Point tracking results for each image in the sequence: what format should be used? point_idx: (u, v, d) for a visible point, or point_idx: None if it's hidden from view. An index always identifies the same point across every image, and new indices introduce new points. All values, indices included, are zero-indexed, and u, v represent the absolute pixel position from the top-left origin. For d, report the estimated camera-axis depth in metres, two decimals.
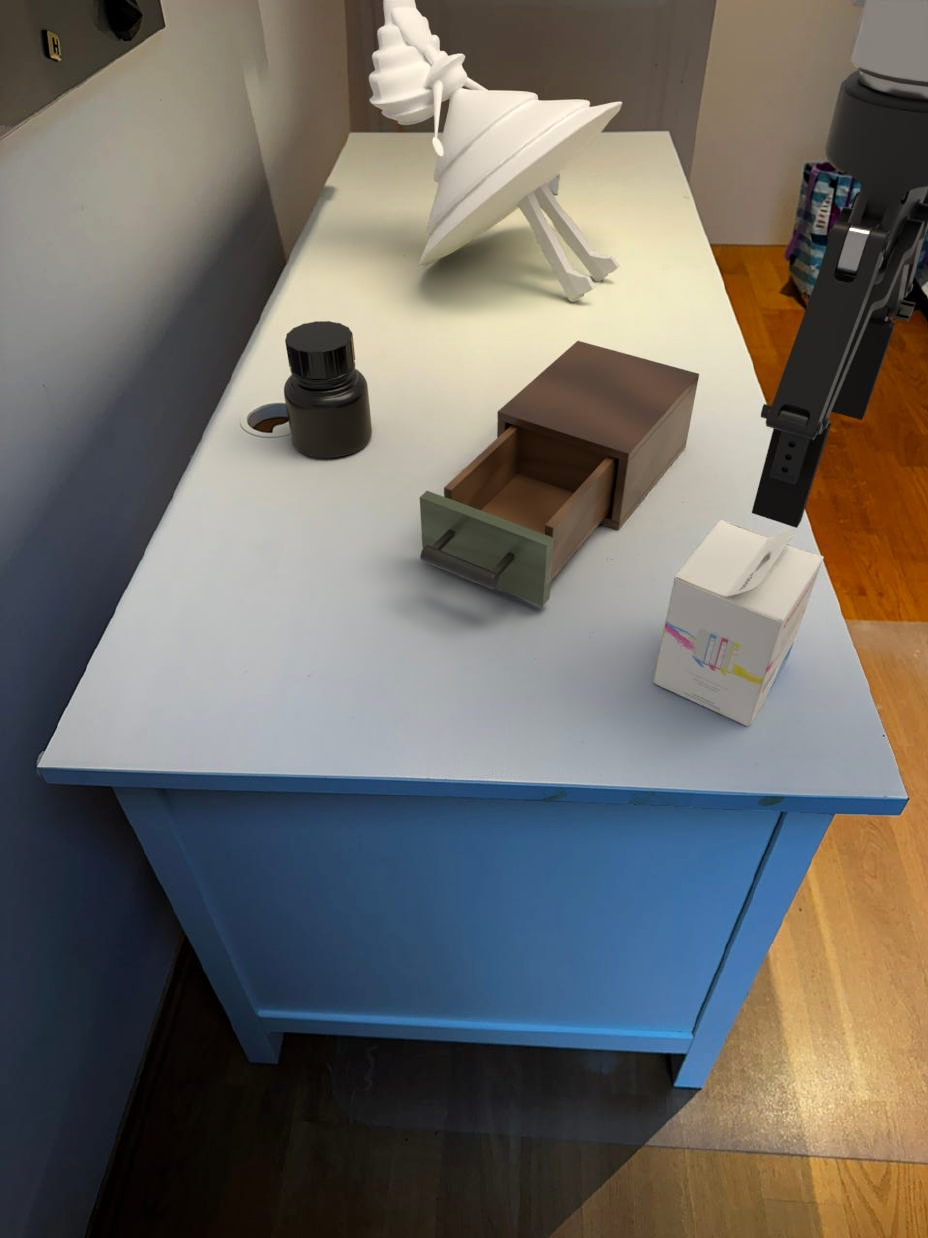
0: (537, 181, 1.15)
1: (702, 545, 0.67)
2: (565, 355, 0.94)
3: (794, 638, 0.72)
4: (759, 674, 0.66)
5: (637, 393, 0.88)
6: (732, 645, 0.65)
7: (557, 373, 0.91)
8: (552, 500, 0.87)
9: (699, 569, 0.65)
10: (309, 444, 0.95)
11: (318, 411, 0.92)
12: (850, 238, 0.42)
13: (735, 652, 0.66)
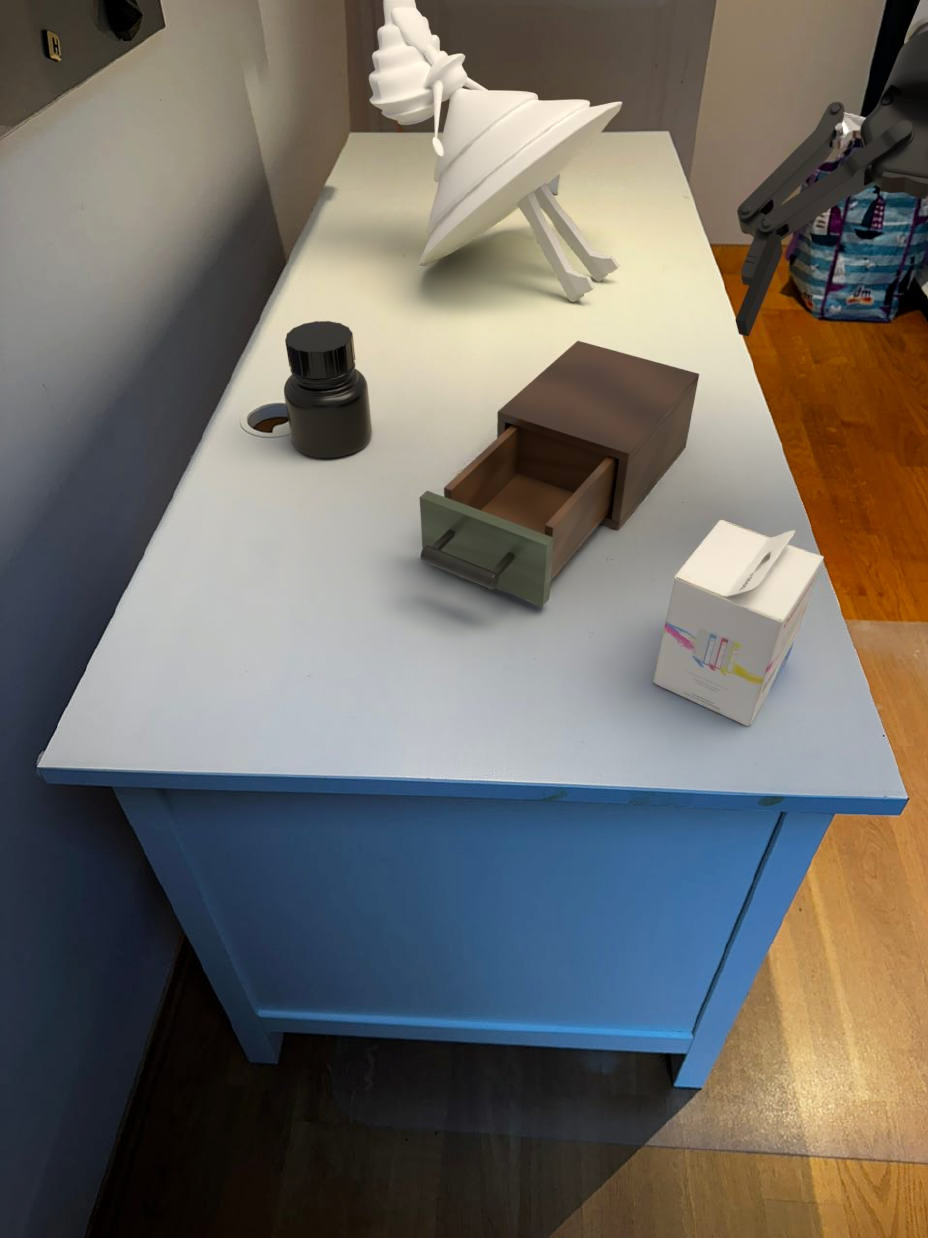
0: (537, 181, 1.15)
1: (702, 545, 0.67)
2: (565, 355, 0.94)
3: (794, 638, 0.72)
4: (759, 674, 0.66)
5: (637, 393, 0.88)
6: (732, 645, 0.65)
7: (557, 373, 0.91)
8: (552, 500, 0.87)
9: (699, 569, 0.65)
10: (309, 444, 0.95)
11: (318, 411, 0.92)
12: None
13: (735, 652, 0.66)
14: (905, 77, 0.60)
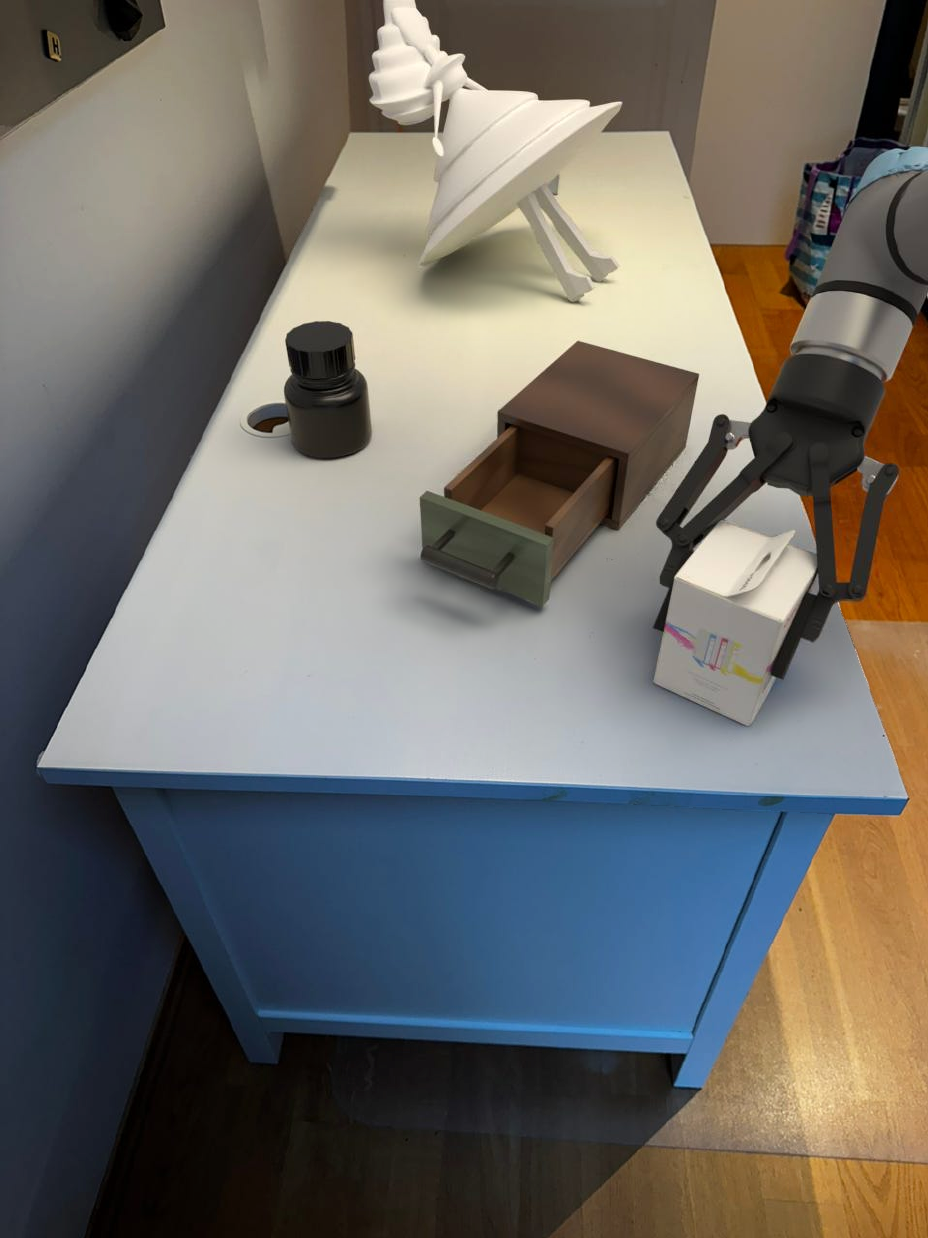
0: (537, 181, 1.15)
1: (702, 545, 0.67)
2: (565, 355, 0.94)
3: None
4: (759, 674, 0.66)
5: (637, 393, 0.88)
6: (732, 645, 0.65)
7: (557, 373, 0.91)
8: (552, 500, 0.87)
9: (699, 569, 0.65)
10: (309, 444, 0.95)
11: (318, 411, 0.92)
12: None
13: (735, 652, 0.66)
14: (785, 396, 0.65)
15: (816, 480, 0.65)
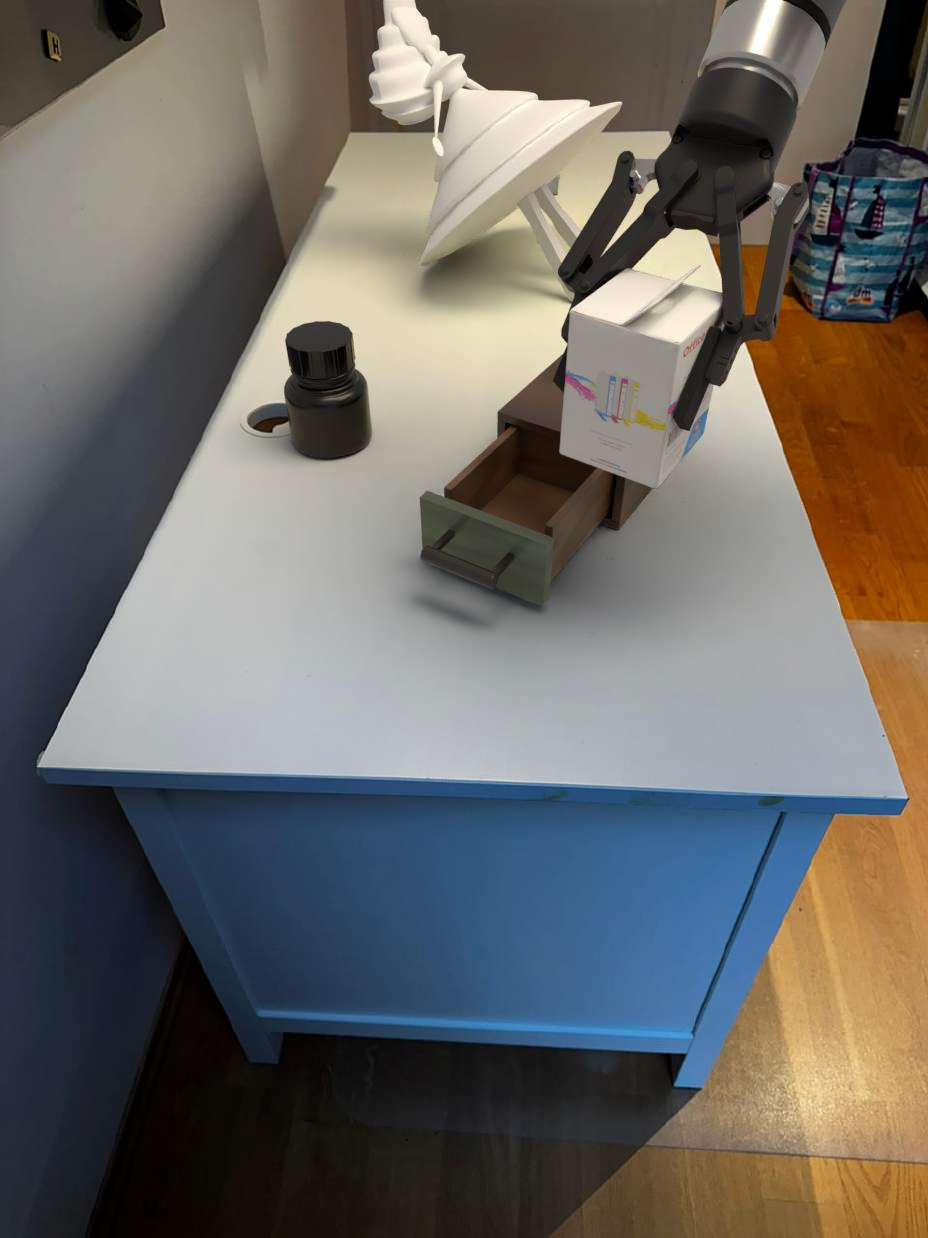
0: (537, 181, 1.15)
1: (604, 286, 0.63)
2: None
3: (707, 402, 0.67)
4: (661, 417, 0.61)
5: None
6: (632, 386, 0.61)
7: None
8: (552, 500, 0.87)
9: (597, 304, 0.61)
10: (309, 444, 0.95)
11: (318, 411, 0.92)
12: None
13: (635, 394, 0.61)
14: (688, 117, 0.61)
15: (721, 206, 0.60)
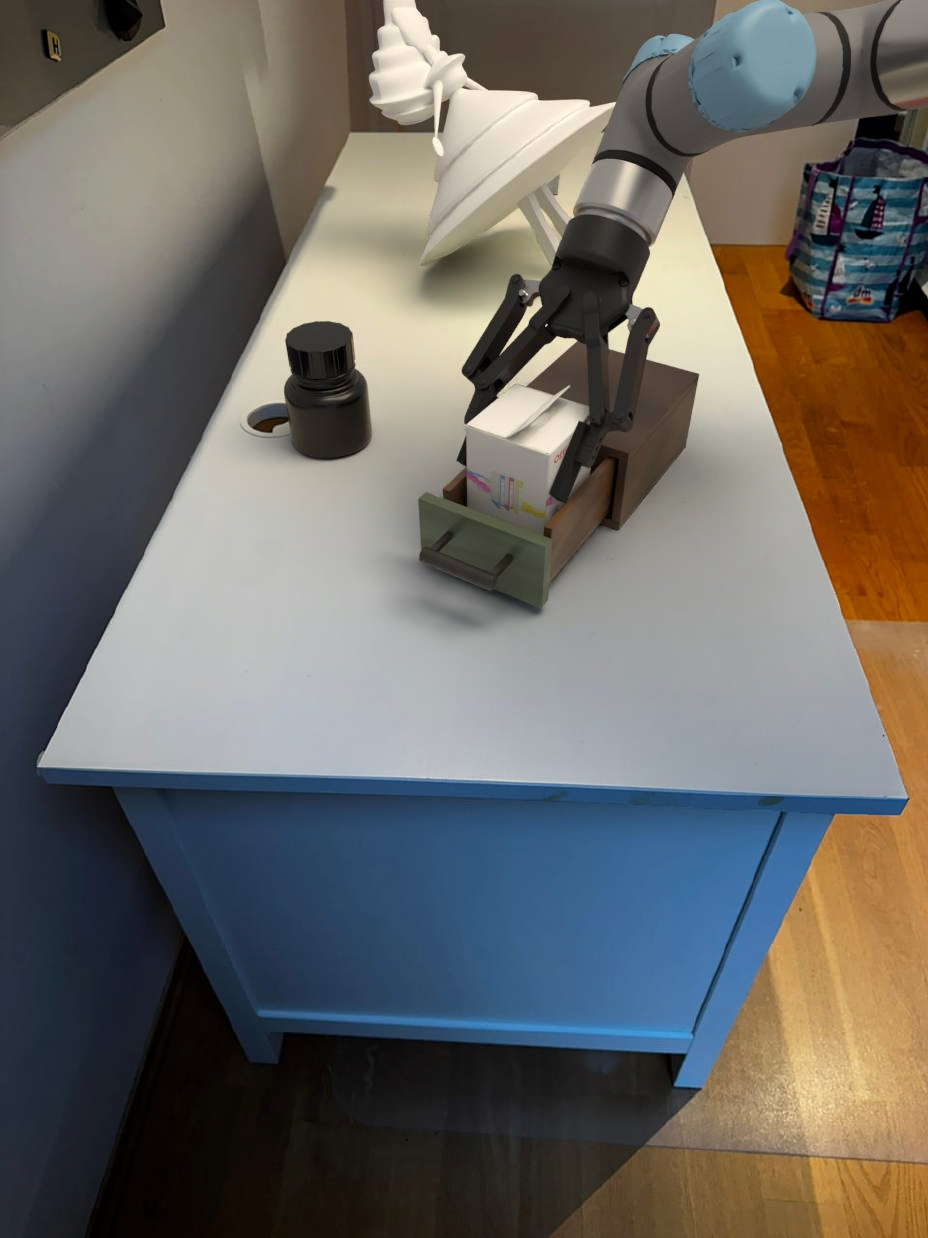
0: (537, 181, 1.15)
1: (495, 402, 0.78)
2: (565, 355, 0.94)
3: None
4: (542, 508, 0.77)
5: None
6: (517, 484, 0.76)
7: (557, 373, 0.91)
8: None
9: (488, 418, 0.76)
10: (309, 444, 0.95)
11: (318, 411, 0.92)
12: None
13: (520, 490, 0.77)
14: (562, 252, 0.75)
15: (588, 324, 0.75)
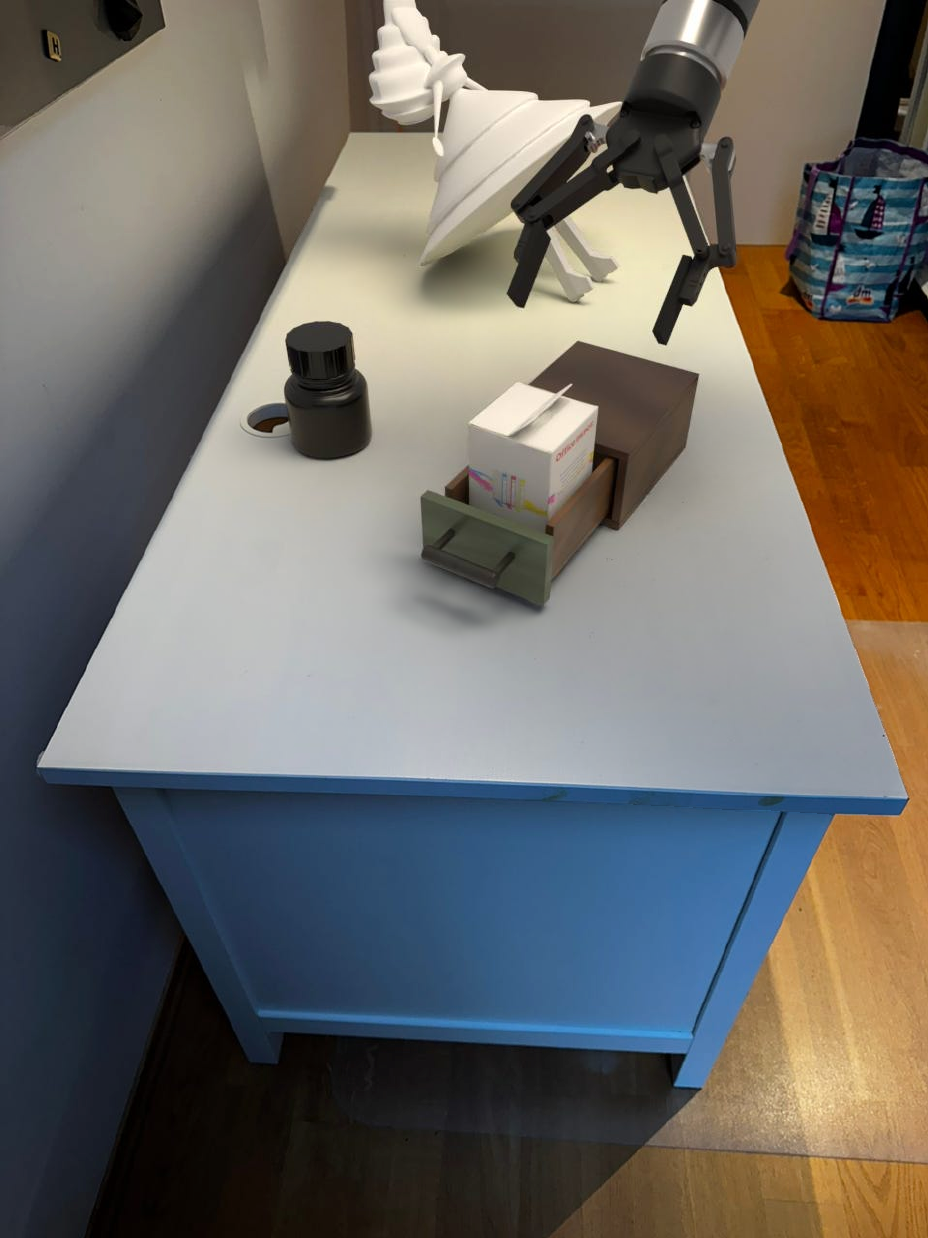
0: None
1: (497, 400, 0.78)
2: (565, 355, 0.94)
3: None
4: (543, 506, 0.77)
5: (637, 393, 0.88)
6: (519, 482, 0.77)
7: (557, 373, 0.91)
8: None
9: (490, 417, 0.77)
10: (309, 444, 0.95)
11: (318, 411, 0.92)
12: None
13: (522, 488, 0.77)
14: (632, 94, 0.74)
15: (666, 165, 0.73)
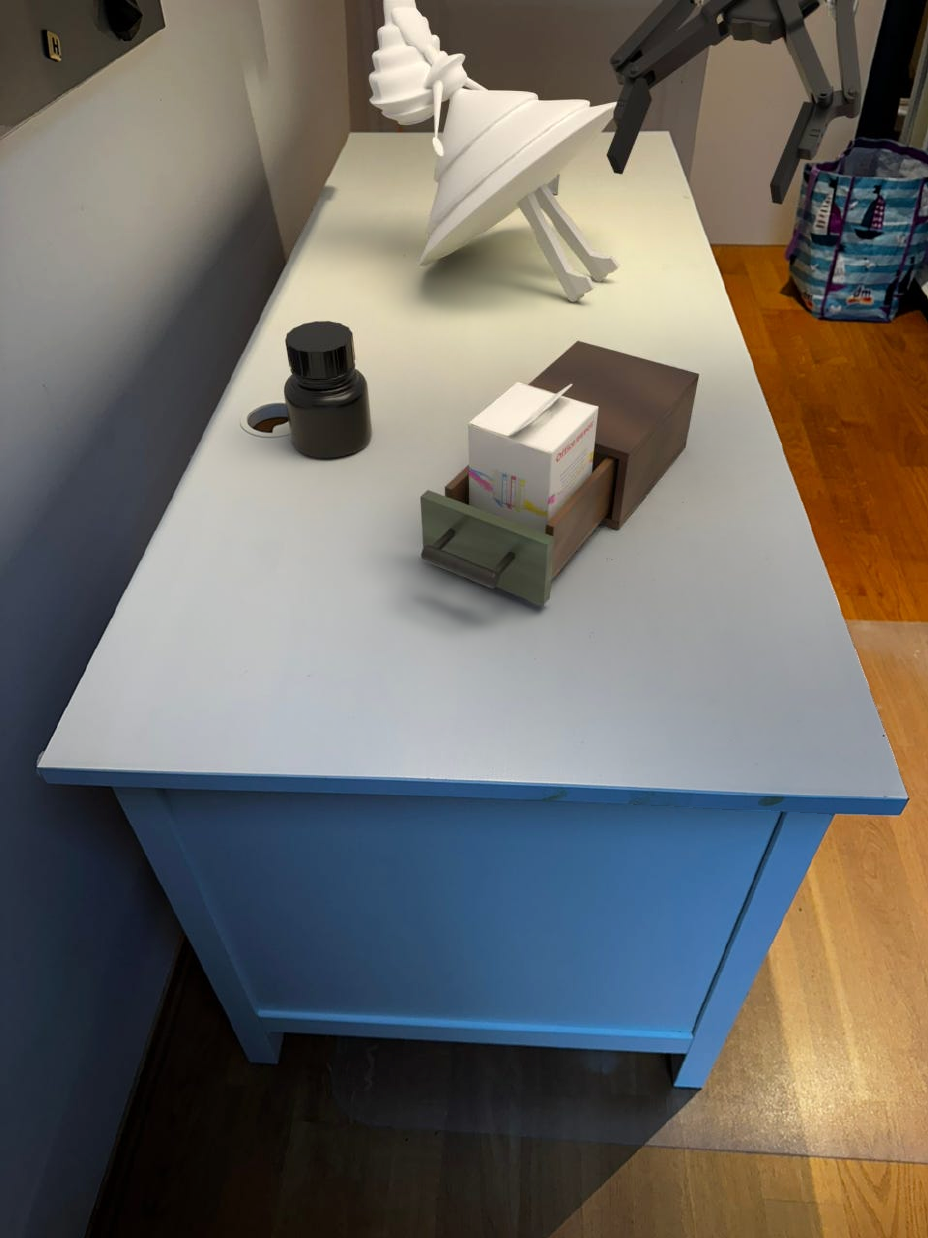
0: (537, 181, 1.15)
1: (497, 400, 0.78)
2: (565, 355, 0.94)
3: None
4: (543, 506, 0.77)
5: (637, 393, 0.88)
6: (519, 482, 0.77)
7: (557, 373, 0.91)
8: None
9: (490, 417, 0.77)
10: (309, 444, 0.95)
11: (318, 411, 0.92)
12: None
13: (522, 488, 0.77)
14: None
15: (785, 8, 0.68)
